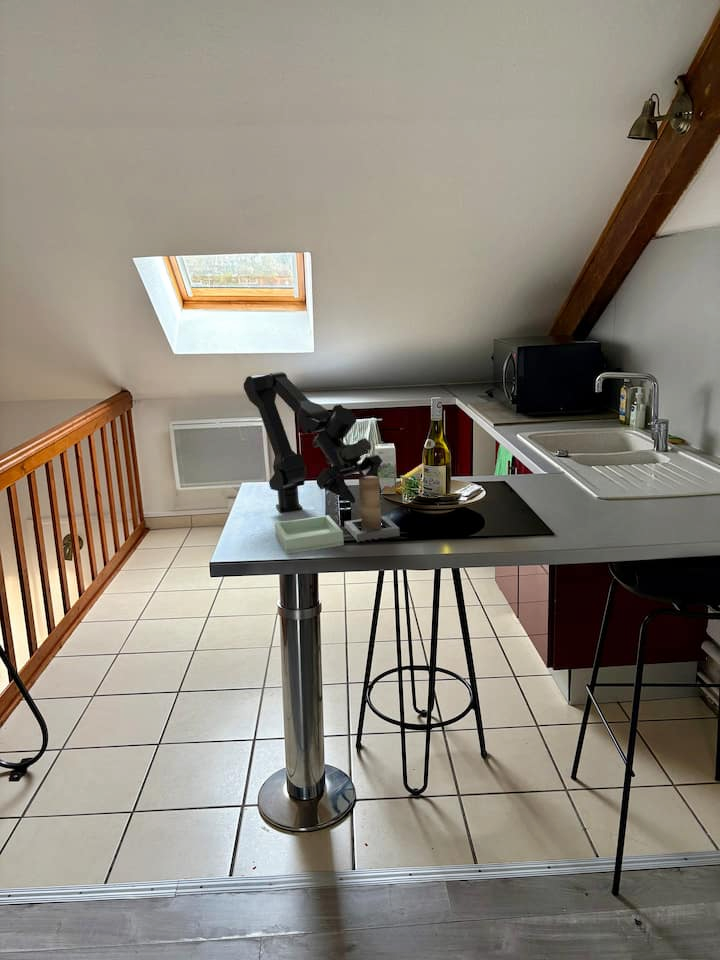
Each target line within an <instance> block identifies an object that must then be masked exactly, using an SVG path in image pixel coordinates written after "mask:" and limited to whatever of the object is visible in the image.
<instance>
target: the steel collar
mask: <svg viewBox="0 0 720 960" xmlns="http://www.w3.org/2000/svg"><path fill="white" fill-rule="evenodd" d="M381 523H382V524H383V525H384V526H385V527H386V528H384V527H381V528H382V529H376V530H369V531H363V532H362V530H360V529H358V528H357V527H361V518H359V519H353V520H346V521H345V520H344V522H343V524H344V529H345V528H346V529H347V530H348V531H349V532H350V533H351V535H352V536H353V537H354V538H355V539H356V541H357V542H356V543H361V542H360V541H362V542H366V541H365V540H369V541H372V540H371V539H375V540H380V539H379V538H382V539H388V538H393V537H399V536H400V534H401V533H400V527H399V526H398V525H396V523H394V522H393V521H392V520H391V519H390V518H389V517H387V516H386V515H381ZM351 535H350V536H351ZM352 536H351V537H352ZM353 537H352V538H353ZM354 538H353V539H354ZM355 539H354V540H355Z"/></svg>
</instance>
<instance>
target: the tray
mask: <svg viewBox="0 0 720 960" xmlns="http://www.w3.org/2000/svg"><path fill="white" fill-rule="evenodd" d="M274 530H275V531H274V532H275V537H276V538H277V540H278V542H279V544H280V545H281V547H282V548H283V550H284V552H285V553H286V555H288V554H295V553H300V552H308V551H315V550H322V549H328V548H333V547H335V548H336V547H339V546H344V545H345V544H344V543H345V542H344V531H343V530H342V528H340V526H339V525H338V524H337V523H336V522H335V521H334V520H333V519H332V518H331V516H330V515H329V514H327V515H320V516H318V515H317V516H312V517H306V518H304V517H303V518H299V519H298V518H297V519H293V520H292V519H291V520H283V521H277V522H274Z"/></svg>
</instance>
